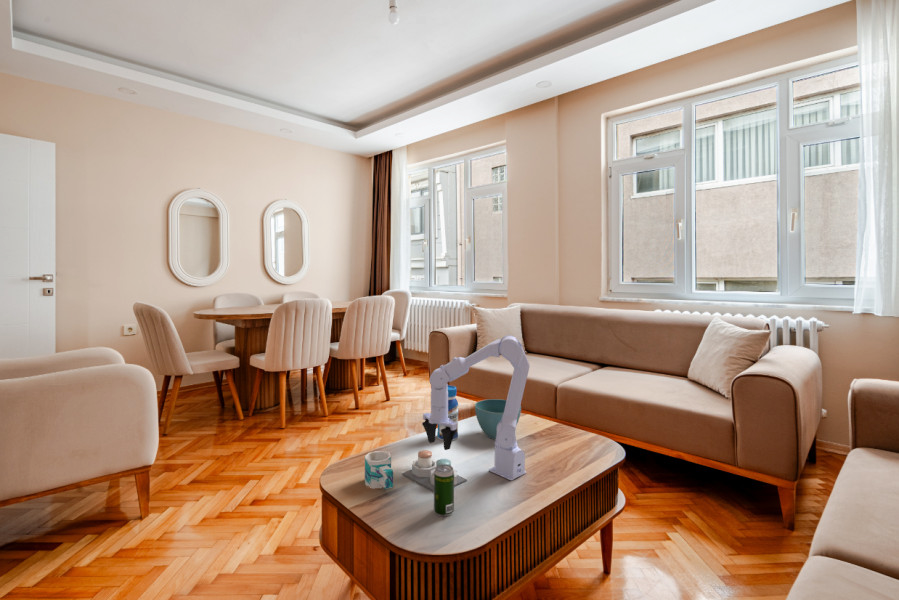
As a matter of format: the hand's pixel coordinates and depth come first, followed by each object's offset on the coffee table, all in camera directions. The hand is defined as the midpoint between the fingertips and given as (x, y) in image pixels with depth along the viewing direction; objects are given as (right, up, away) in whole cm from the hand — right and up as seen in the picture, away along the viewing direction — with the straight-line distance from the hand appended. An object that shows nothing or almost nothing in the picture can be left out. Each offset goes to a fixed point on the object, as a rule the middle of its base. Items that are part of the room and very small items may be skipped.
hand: (439, 445), depth 143 cm
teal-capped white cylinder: (+2, -7, -10) cm, 13 cm away
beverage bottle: (+3, -6, +26) cm, 27 cm away
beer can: (+2, -9, -26) cm, 28 cm away
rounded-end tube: (-5, -7, -4) cm, 9 cm away
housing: (-1, -8, -7) cm, 11 cm away
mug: (-18, -8, -12) cm, 23 cm away
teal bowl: (+23, -6, +29) cm, 37 cm away
